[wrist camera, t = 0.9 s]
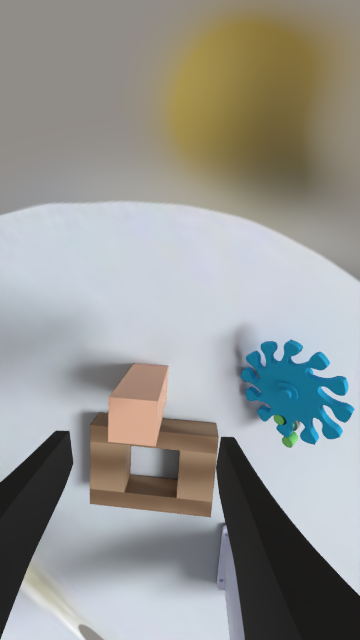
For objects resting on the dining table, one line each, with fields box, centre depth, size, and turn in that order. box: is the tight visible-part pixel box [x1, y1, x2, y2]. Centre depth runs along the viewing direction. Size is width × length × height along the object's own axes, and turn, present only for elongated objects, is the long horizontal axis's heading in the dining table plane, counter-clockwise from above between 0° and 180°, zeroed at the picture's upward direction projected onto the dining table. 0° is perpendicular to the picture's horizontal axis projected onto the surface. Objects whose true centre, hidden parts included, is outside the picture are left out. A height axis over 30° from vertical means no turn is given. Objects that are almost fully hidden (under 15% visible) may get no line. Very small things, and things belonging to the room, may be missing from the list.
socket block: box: [90, 412, 219, 517], centre depth 27 cm, size 10×14×2 cm
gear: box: [241, 340, 354, 448], centre depth 23 cm, size 11×6×10 cm
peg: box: [108, 363, 169, 447], centre depth 22 cm, size 4×4×8 cm
